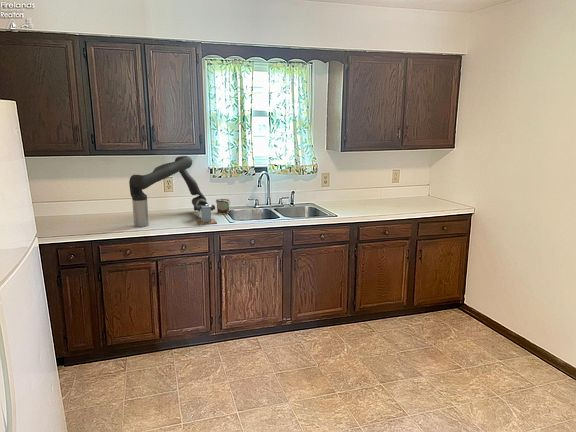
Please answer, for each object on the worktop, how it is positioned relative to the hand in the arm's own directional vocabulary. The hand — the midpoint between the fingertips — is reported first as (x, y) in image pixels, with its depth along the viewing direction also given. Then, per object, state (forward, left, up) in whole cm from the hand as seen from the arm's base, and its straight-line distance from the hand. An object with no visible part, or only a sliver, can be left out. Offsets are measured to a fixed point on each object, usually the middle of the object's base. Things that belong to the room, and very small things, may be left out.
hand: (205, 209), depth 296 cm
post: (0, -2, -8) cm, 8 cm away
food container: (+18, +24, -9) cm, 31 cm away
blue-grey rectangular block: (0, -2, -7) cm, 8 cm away
